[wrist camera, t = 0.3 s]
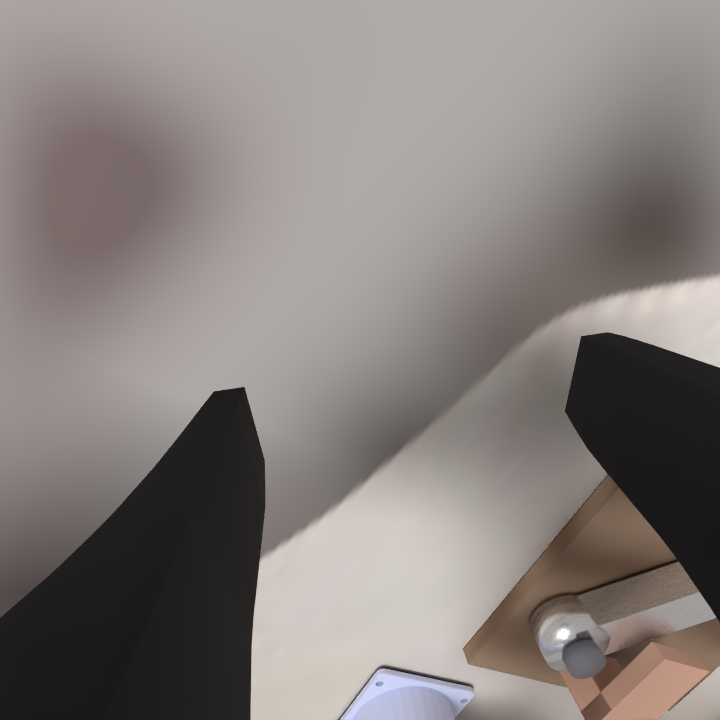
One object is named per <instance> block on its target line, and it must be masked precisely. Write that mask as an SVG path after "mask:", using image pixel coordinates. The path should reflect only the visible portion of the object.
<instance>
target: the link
mask: <svg viewBox="0 0 720 720" xmlns="http://www.w3.org/2000/svg"><path fill="white" fill-rule="evenodd" d="M714 618H716V616H715V614H714V613H713V611H712V610H711V608H710V607H709V605H708V604H707V602H706V601H705V599H704V598H703V596H702V595H701V593H700V592H699V590H698V589H697V588H696V586H695V585H694V583H693V582H692V580H691V579H690V577H689V576H688V574H687V573H686V571H685V570H684V568H683V567H682V566H681V564H680V563H679V562H676V563H673V564H670V565H667V566H664V567H661V568H658V569H656V570H653V571H650V572H647V573H644V574H641V575H638V576H635V577H632V578H629V579H626V580H623V581H620V582H617V583H614V584H611V585H608V586H605V587H602V588H599V589H596V590H593V591H590V592H587V593H584V594H581V595H578V596H575V595H565V596H559V597H556V598H553V599H551V600H549V601H547V602H545V603H544V604H542V605H541V606H540V607H539V608H538V609H537V610H536V611H535V612H534V613H533V615H532V616H531V619H530V622H529V629H530V631H531V633H532V635H533V637H534V639H535V641H536V643H537V645H538V647H539V649H540V651H541V653H542V654H543V656H544V658H545V660H546V662H547V664H548V665H549V666H550V667H551V668H552V669H554V670H557V671H568V669H567V667H566V665H565V664H564V662H563V660H562V655H563V653H564V651H565V650H566V649H567V648H568V647H569V646H570V645H572V644H573V643H575V642H578V641H581V640H592V641H594V642H595V643H596V644H597V645H598V647H599V648H600V650H601V652H602V653H603V655H604V656H605V655H608V654H611V653H614V652H617V651H620V650H622V649H625V648H628V647H631V646H634V645H637V644H640V643H643V642H646V641H649V640H652V639H655V638H658V637H661V636H664V635H667V634H670V633H673V632H676V631H679V630H682V629H685V628H688V627H691V626H694V625H697V624H700V623H703V622H705V621H708V620H711V619H714Z"/></svg>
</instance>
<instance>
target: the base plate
mask: <svg viewBox="0 0 720 720" xmlns="http://www.w3.org/2000/svg"><path fill="white" fill-rule="evenodd" d="M676 562H679V561H678V560H677V558H676V557H675V556H674V554H673V553H672V552H671V550H670V549H669V548H668V547H667V545H666V544H665V543H664V541H663V540H662V539H661V537H660V536H659V535H658V534H657V533H656V531H655V530H654V529H653V528H652V527H651V525H650V524H649V523H648V522H647V521H646V519H645V518H644V517H643V516H642V514H641V513H640V512H639V511H638V510H637V508H636V507H635V506H634V505H633V504H632V502H631V501H630V500H629V499H628V498H627V496H626V495H625V494H624V493H623V492H622V490H621V489H620V488H619V487H618V486H617V484H616V483H615V482H614V481H613V480H612V478H611V477H610V476H609V475H608V476H607V477H606V478H605V479H604V481H603V482H602V483H601V484H600V485H599V487H598V488H597V489H596V490H595V491H594V493H593V494H592V495H591V496H590V497H589V499H588V500H587V501H586V502H585V503H584V505H583V506H582V507H581V508H580V509H579V511H578V512H577V513H576V514H575V515H574V517H573V518H572V519H571V520H570V521H569V523H568V524H567V525H566V526H565V527H564V529H563V530H562V531H561V532H560V533H559V535H558V536H557V537H556V538H555V539H554V541H553V542H552V543H551V544H550V545H549V547H548V548H547V549H546V550H545V551H544V553H543V554H542V555H541V556H540V557H539V559H538V560H537V561H536V562H535V563H534V565H533V566H532V567H531V568H530V569H529V571H528V572H527V573H526V574H525V575H524V577H523V578H522V579H521V580H520V582H519V583H518V584H517V585H516V586H515V588H514V589H513V590H512V591H511V592H510V594H509V595H508V596H507V597H506V598H505V600H504V601H503V602H502V603H501V604H500V606H499V607H498V608H497V609H496V610H495V612H494V613H493V614H492V615H491V616H490V618H489V619H488V620H487V621H486V622H485V624H484V625H483V626H482V627H481V628H480V630H479V631H478V632H477V633H476V634H475V636H474V637H473V638H472V639H471V640H470V642H469V643H468V644H467V645H466V646H465V648H464V649H463V650H464V653H465V656H466V659H467V662H468V664H469V665H473V666H478V667H482V668H486V669H491V670H495V671H499V672H504V673H508V674H512V675H517V676H521V677H525V678H529V679H534V680H538V681H542V682H547V683H551V684H555V685H560V686H564V687H568V686H567V685H566V683H565V681H564V679H563V677H562V675H561V673H560V671H557V670H554V669H552V668H551V667H550V666H549V665H548V664H547V662H546V660H545V658H544V656H543V654H542V653H541V651H540V649H539V647H538V645H537V643H536V641H535V639H534V637H533V635H532V633H531V631H530V629H529V622H530V619H531V616H532V615H533V613H534V612H535V611H536V610H537V609H538V608H539V607H540V606H541V605H542V604H544V603H545V602H547V601H549V600H551V599H553V598H556V597H559V596H565V595H575V596H578V595H581V594H584V593H587V592H590V591H593V590H596V589H599V588H602V587H605V586H608V585H611V584H614V583H617V582H620V581H623V580H626V579H629V578H632V577H635V576H638V575H641V574H644V573H647V572H650V571H653V570H656V569H658V568H661V567H664V566H667V565H670V564H673V563H676ZM651 642H654V643H658V644H661V645H664V646H668V647H671V648H674V649H678V650H681V651H684V652H688V653H691V654H695V655H696V656H697V657H698V658H699V659H700V661H701V662H702V663H703V664H704V665H705V667H706V668H707V669H708V670H709V671H710V672H709V673H708V674H707V675H706V676H705V677H704V678H702V679H701V680H700V681H699V682H698V683H697V684H696V685H695V686H694V687H692V688H691V689H690V690H689V691H688V692H687V693H686V694H685V695H684V696H682V697H681V698H680V699H679V700H678V701H677V702H676V703H675V704H674V705H673V706H671V707H670V708H669V709H668V711H670V710H671V709H672V708H673V707H674V706H675V705H676V704H678V703H679V702H680V701H681V700H682V699H683V698H684V697H685V696H686V695H688V694H689V693H690V692H691V691H692V690H693V689H694V688H695V687H696V686H698V685H699V684H700V683H701V682H702V681H703V680H704V679H705V678H706V677H708V676H709V675H710V674H711V673H712V672H713V671H714V670H715V669H716V668H717V667H719V666H720V622H719V621H718V619H717V618H714V619H711V620H708V621H705V622H703V623H700V624H697V625H694V626H691V627H688V628H685V629H682V630H679V631H676V632H673V633H670V634H667V635H664V636H661V637H658V638H655V639H652V640H649V641H646V642H643V643H640V644H637V645H634V646H631V647H628V648H625V649H622V650H620V651H617V652H614V653H611V654H608V655H605V656H608V657H612V658H615V659H616V660H617V662H618V663H619V665H620V666H621V668H622V669H623V670H624V669H625V668H626V667H627V666H628V665H629V664H630V663H631V662H632V661H633V660H634V659H635V658H636V657H637V656H638V655H639V654H640V653H641V652H642V651H643V650H644V649H645V648H646V647H647V646H648V645H649V644H650V643H651Z"/></svg>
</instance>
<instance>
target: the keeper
mask: <svg viewBox="0 0 720 720" xmlns="http://www.w3.org/2000/svg"><path fill="white" fill-rule="evenodd" d="M562 660H563V662H564V664H565V665H566V667H567V669H568V671H560V673H561V675H562V677H563V679H564V681H565V683H566V685H567V686H568V688H569V690H570V692H571V694H572V696H573V698H574V700H575V701H576V703H577V705H578V707H579V709H580V711H581V713H582V715H583V716H584V718H585V720H657V719H658V718H659V717H660V716H661V715H663V714H664V713H665V712H666V711H667V710H668V709H669V708H670V707H671V706H673V705H674V704H675V703H676V702H677V701H678V700H679V699H680V698H681V697H682V696H684V695H685V694H686V693H687V692H688V691H689V690H690V689H691V688H692V687H694V686H695V685H696V684H697V683H698V682H699V681H700V680H701V679H702V678H704V677H705V676H706V675H707V674H708V673H709V672H710V671H709V670H708V669H707V668H706V667H705V665H704V664H703V663H702V662H701V661H700V659H699V658H698V657H697V656H696V655H695V654H691V653H688V652H684V651H681V650H678V649H674V648H671V647H668V646H664V645H661V644H658V643H654V642H651V643H650V644H649V645H648V646H647V647H646V648H645V649H644V650H643V651H642V652H641V653H640V654H639V655H638V656H637V657H636V658H635V659H634V660H633V661H632V662H631V663H630V664H629V665H628V666H627V667H626V668H625V669H624V670H623V669H622V668H621V666H620V665H619V663H618V662H617V660H616V659H615V658H612V657H608V656H604V655H603V653H602V652H601V650H600V648H599V647H598V645H597V644H596V643H595V642H594V641H592V640H581V641H578V642H575V643H573V644H572V645H570V646H569V647H568V648H567V649H566V650H565V651H564V653H563V655H562Z"/></svg>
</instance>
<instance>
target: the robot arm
mask: <svg viewBox="0 0 720 720" xmlns="http://www.w3.org/2000/svg"><path fill="white" fill-rule="evenodd" d="M565 412H566V414H567V415H568V417H569V419H570V421H571V422H572V424H573V426H574V428H575V429H576V431H577V433H578V434H579V436H580V437H581V439H582V440H583V442H584V444H585V445H586V447H587V448H588V450H589V451H590V452H591V454H592V455H593V456H594V457H595V459H596V460H597V461H598V462H599V464H600V465H601V466H602V467H603V468H604V470H605V471H606V472H607V473H608V475H609V476H610V477H611V478H612V480H613V481H614V482H615V483H616V484H617V486H618V487H619V488H620V489H621V490H622V492H623V493H624V494H625V495H626V496H627V498H628V499H629V500H630V501H631V502H632V504H633V505H634V506H635V507H636V508H637V510H638V511H639V512H640V513H641V514H642V516H643V517H644V518H645V519H646V521H647V522H648V523H649V524H650V525H651V527H652V528H653V529H654V530H655V531H656V533H657V534H658V535H659V536H660V537H661V539H662V540H663V541H664V543H665V544H666V545H667V547H668V548H669V549H670V550H671V552H672V553H673V554H674V556H675V557H676V558H677V560H678V561H679V563H680V564H681V566H682V567H683V568H684V570H685V571H686V573H687V574H688V576H689V577H690V579H691V580H692V582H693V583H694V585H695V586H696V588H697V589H698V590H699V592H700V593H701V595H702V596H703V598H704V599H705V601H706V602H707V604H708V605H709V607H710V608H711V610H712V611H713V613H714V614H715V616H716V618H717V619H718V621H719V622H720V368H719V367H716V366H713V365H710V364H707V363H704V362H701V361H698V360H695V359H692V358H689V357H686V356H683V355H680V354H678V353H675V352H672V351H669V350H666V349H663V348H660V347H657V346H654V345H651V344H648V343H645V342H641V341H638V340H635V339H632V338H628V337H625V336H621V335H617V334H613V333H608V332H607V333H601V334H594V335H587V336H581V340H580V344H579V349H578V353H577V358H576V363H575V367H574V372H573V377H572V381H571V386H570V390H569V395H568V400H567V404H566V409H565ZM264 513H265V461H264V457H263V453H262V449H261V446H260V442H259V438H258V435H257V431H256V427H255V424H254V420H253V417H252V413H251V409H250V406H249V402H248V399H247V395H246V391H245V388H244V387H241V388H235V389H228V390H221V391H214V392H213V393H212V395H211V396H210V397H209V399H208V400H207V401H206V402H205V403H204V405H203V406H202V407H201V409H200V410H199V411H198V412H197V414H196V415H195V416H194V418H193V419H192V420H191V422H190V423H189V424H188V425H187V427H186V428H185V429H184V431H183V432H182V433H181V434H180V436H179V437H178V438H177V440H176V441H175V442H174V443H173V445H172V446H171V447H170V448H169V449H168V451H167V452H166V453H165V454H164V456H163V457H162V458H161V459H160V461H159V462H158V463H157V464H156V466H155V467H154V468H153V469H152V470H151V471H150V473H149V474H148V475H147V476H146V477H145V478H144V479H143V480H142V482H141V483H140V484H139V485H138V486H137V487H136V488H135V489H134V491H133V492H132V493H131V494H130V495H129V496H128V497H127V498H126V500H125V501H124V502H123V503H122V504H121V505H120V506H119V507H118V508H117V510H116V511H115V512H114V513H113V514H112V515H111V516H110V517H109V518H108V519H107V520H106V521H105V522H104V523H103V524H102V525H101V526H100V527H99V528H98V529H97V530H96V531H95V532H94V533H93V534H92V535H91V536H90V537H89V538H88V539H87V540H86V541H85V542H84V543H83V544H82V545H81V546H80V547H79V548H78V549H77V550H76V551H75V552H74V553H73V554H71V556H69V557H68V558H67V559H66V560H65V561H64V562H63V563H62V564H61V565H60V566H59V567H58V568H57V569H56V570H55V571H53V572H52V573H51V574H50V575H49V576H48V577H47V578H46V579H45V580H44V581H42V582H41V583H40V584H39V585H38V586H37V587H35V588H34V589H33V590H32V591H31V592H30V593H29V594H27V595H26V596H25V597H24V598H23V599H22V600H20V601H19V602H18V603H17V604H16V605H15V606H13V607H12V608H11V609H10V610H9V611H8V612H6V613H5V614H4V615H3V616H2V617H1V618H0V720H250V702H251V645H252V629H253V615H254V606H255V597H256V588H257V579H258V569H259V560H260V550H261V542H262V532H263V523H264ZM473 697H474V691H473V689H472V687H469V686H465V685H460V684H455V683H450V682H446V681H441V680H436V679H432V678H427V677H422V676H418V675H413V674H408V673H404V672H399V671H394V670H389V669H379V670H378V671H377V672H376V673H375V674H374V675H373V677H372V678H371V679H370V681H369V682H368V683H367V685H366V686H365V687H364V689H363V690H362V691H361V692H360V694H359V695H358V696H357V698H356V699H355V700H354V702H353V703H352V704H351V706H350V707H349V708H348V710H347V711H346V712H345V714H344V715H343V716H342V717H341V719H340V720H455V719H454V718H455V717H456V716H457V715H458V714H459V713H460V712H461V710H462V709H463V708H464V707H465V706H466V705H467V704H468V703H469V701H470V700H471V699H472V698H473Z"/></svg>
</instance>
